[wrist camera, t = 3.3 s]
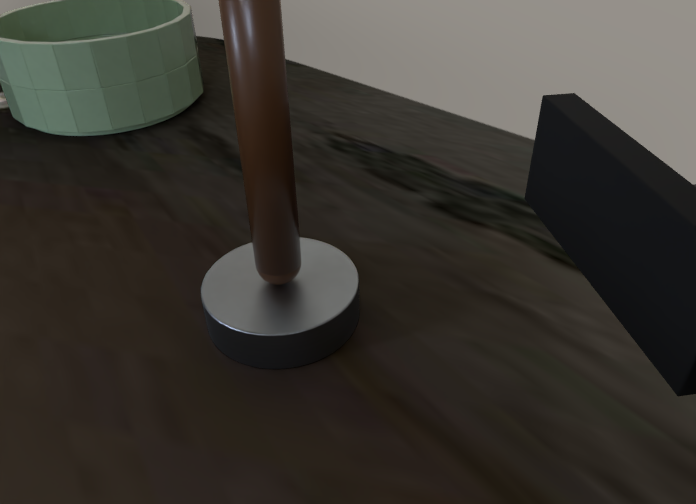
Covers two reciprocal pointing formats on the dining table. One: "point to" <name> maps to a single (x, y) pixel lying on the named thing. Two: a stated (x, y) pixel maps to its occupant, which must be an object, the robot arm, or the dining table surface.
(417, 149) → the dining table surface
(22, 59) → the bowl
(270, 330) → the wooden peg on disc
